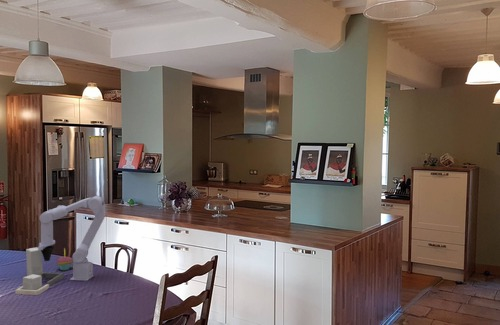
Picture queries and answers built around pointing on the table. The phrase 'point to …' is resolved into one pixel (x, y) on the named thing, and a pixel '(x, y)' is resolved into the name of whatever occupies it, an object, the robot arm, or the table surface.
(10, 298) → the table surface
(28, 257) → the skincare box
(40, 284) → the skincare box
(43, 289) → the bracket frame
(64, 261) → the cupcake
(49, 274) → the frame
